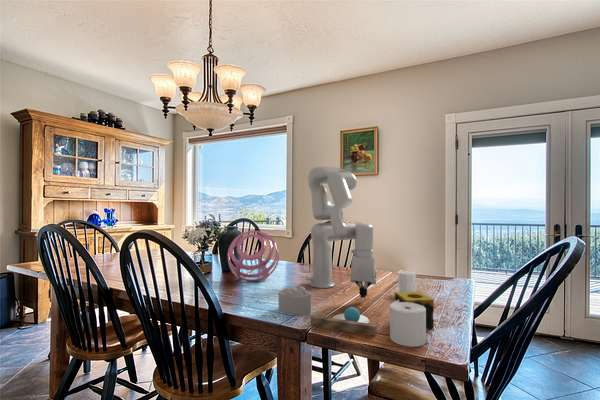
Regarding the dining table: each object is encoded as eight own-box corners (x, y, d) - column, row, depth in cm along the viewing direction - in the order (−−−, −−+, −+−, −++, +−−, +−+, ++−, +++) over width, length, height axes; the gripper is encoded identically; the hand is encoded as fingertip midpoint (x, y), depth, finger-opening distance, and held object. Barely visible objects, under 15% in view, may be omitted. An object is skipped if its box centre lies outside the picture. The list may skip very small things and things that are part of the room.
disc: (327, 323, 115) (327, 322, 115) (338, 311, 127) (338, 311, 127) (364, 329, 110) (364, 328, 110) (372, 316, 122) (372, 316, 122)
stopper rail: (310, 326, 113) (310, 317, 113) (312, 324, 115) (312, 315, 115) (375, 336, 104) (375, 326, 104) (376, 334, 106) (376, 324, 106)
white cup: (417, 297, 146) (417, 274, 146) (398, 296, 148) (398, 273, 148) (414, 292, 154) (414, 270, 154) (397, 291, 155) (397, 270, 155)
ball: (344, 303, 117) (346, 314, 120) (342, 314, 113) (343, 326, 115) (360, 304, 116) (361, 316, 118) (358, 315, 111) (359, 327, 113)
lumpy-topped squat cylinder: (292, 304, 137) (292, 283, 137) (317, 311, 128) (317, 288, 128) (274, 310, 129) (274, 288, 129) (300, 318, 121) (300, 294, 121)
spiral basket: (242, 239, 202) (235, 216, 180) (285, 250, 198) (285, 228, 176) (224, 281, 187) (214, 262, 164) (270, 295, 183) (268, 277, 161)
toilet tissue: (412, 350, 94) (411, 315, 94) (379, 336, 104) (379, 304, 104) (433, 341, 100) (433, 308, 100) (400, 328, 110) (400, 298, 110)
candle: (393, 319, 119) (393, 291, 119) (420, 318, 120) (420, 291, 120) (405, 330, 109) (404, 300, 109) (434, 329, 110) (434, 299, 110)
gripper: (344, 253, 138) (343, 296, 139) (380, 256, 132) (379, 301, 133) (348, 250, 145) (348, 292, 146) (383, 253, 139) (382, 296, 140)
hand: (363, 296), depth 139 cm, fingers closed
